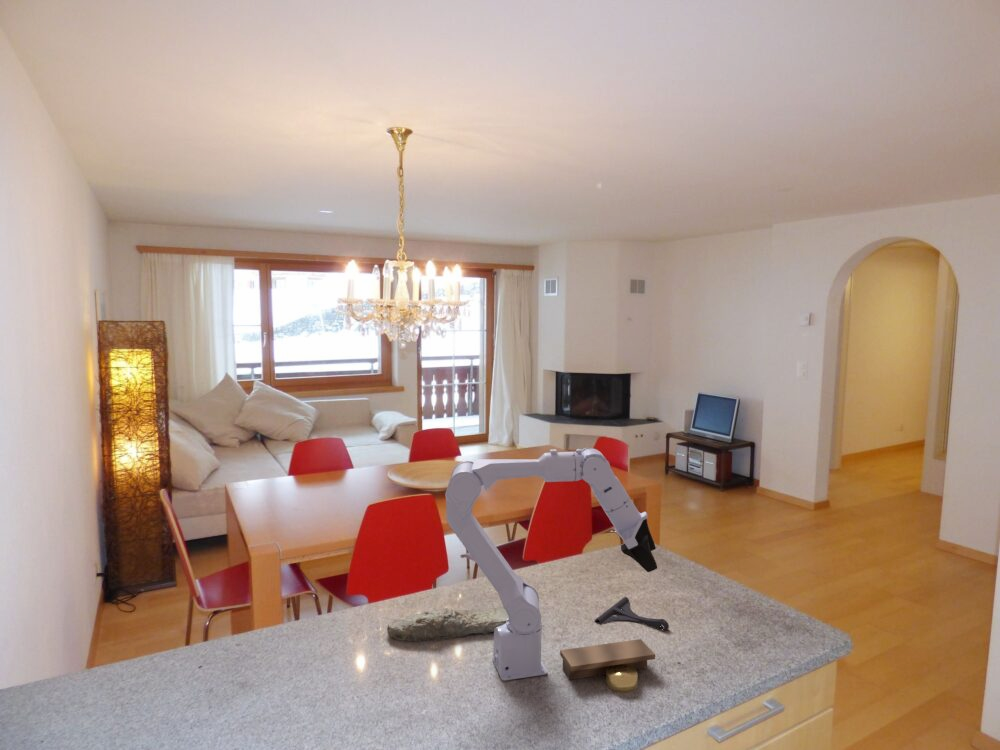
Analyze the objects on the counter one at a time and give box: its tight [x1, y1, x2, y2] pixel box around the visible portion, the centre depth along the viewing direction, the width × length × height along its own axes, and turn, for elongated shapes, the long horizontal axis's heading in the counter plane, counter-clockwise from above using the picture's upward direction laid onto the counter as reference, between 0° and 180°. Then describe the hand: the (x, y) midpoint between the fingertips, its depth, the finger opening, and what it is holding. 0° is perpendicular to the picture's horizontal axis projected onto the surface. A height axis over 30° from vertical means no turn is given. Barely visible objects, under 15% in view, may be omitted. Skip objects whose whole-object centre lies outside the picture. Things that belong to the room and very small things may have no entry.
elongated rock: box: [386, 607, 509, 642], centre depth 140 cm, size 35×5×10 cm
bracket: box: [594, 596, 670, 632], centre depth 145 cm, size 14×15×3 cm
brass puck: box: [605, 664, 639, 694], centre depth 120 cm, size 6×6×2 cm
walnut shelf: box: [559, 638, 656, 680], centre depth 124 cm, size 18×6×4 cm, turn 105°
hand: (651, 559), depth 123 cm, fingers open, 7 cm apart
